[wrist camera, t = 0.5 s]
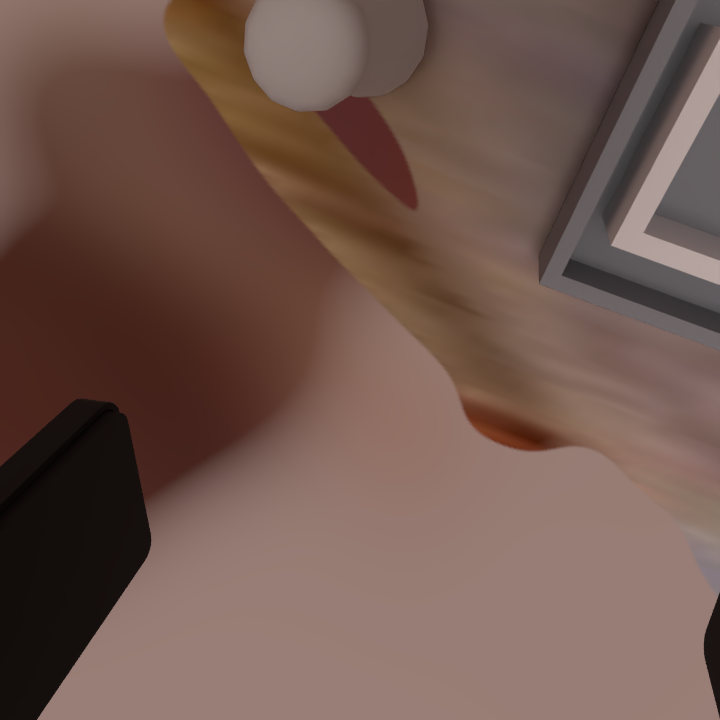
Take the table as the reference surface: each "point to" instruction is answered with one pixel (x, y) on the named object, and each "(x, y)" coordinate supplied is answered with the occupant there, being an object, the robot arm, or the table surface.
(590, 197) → the socket box
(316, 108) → the salt shaker
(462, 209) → the table surface
